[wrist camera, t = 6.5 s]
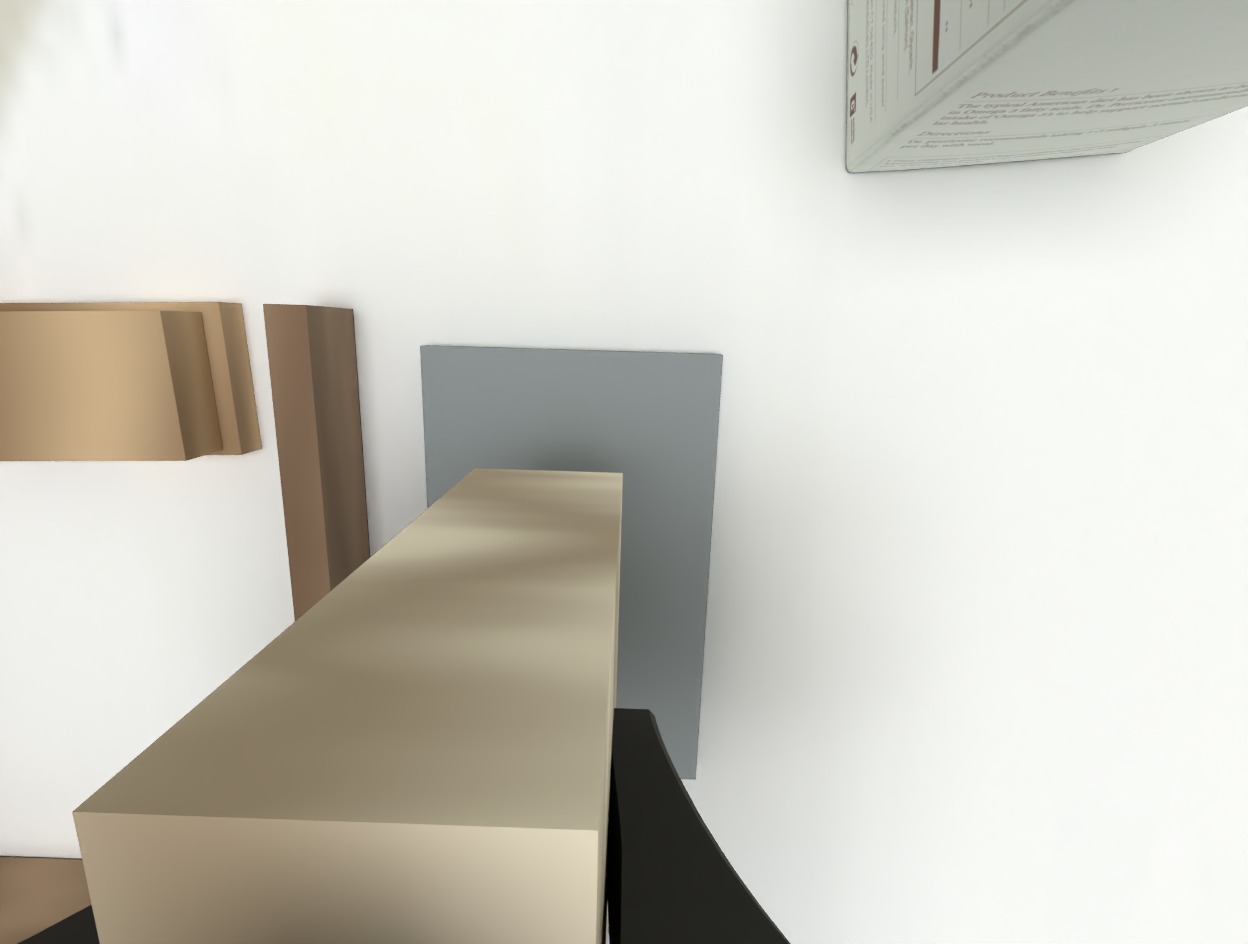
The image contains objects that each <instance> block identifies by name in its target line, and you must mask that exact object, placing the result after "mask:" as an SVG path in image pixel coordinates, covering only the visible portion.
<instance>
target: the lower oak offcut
mask: <svg viewBox="0 0 1248 944" xmlns="http://www.w3.org/2000/svg"><path fill="white" fill-rule="evenodd" d="M0 311H181V312H201V315H202V321H203V327H204V334H205V340H206V346H207V352H208V359H209V365H210V371H211V378H212V384H213V390H214V397H215V403H216V409H217V415H218V422H219V428H220V434H221V441H222V447H223V450H220V451H217V452H214V453H210V454H207V455H243V454H246V453H249V452H252V451H255V450H258V449H262V445H261V438H260V431H259V424H258V417H257V410H256V403H255V395H254V388H253V381H252V374H251V367H250V360H249V353H248V346H247V339H246V332H245V324H244V317H243V310H242V304H238V303H224V302H144V303H0Z"/></svg>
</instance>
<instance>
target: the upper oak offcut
mask: <svg viewBox="0 0 1248 944" xmlns="http://www.w3.org/2000/svg"><path fill="white" fill-rule="evenodd" d="M220 450H223V447H222V441H221V434H220V428H219V422H218V415H217V409H216V403H215V397H214V390H213V384H212V378H211V371H210V365H209V359H208V352H207V346H206V340H205V334H204V327H203V321H202V315H201V312H181V311H0V461H186V460H190V459H193V458H196V457H200V456H203V455H207V454H210V453H214V452H217V451H220Z"/></svg>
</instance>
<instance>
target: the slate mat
mask: <svg viewBox="0 0 1248 944" xmlns="http://www.w3.org/2000/svg"><path fill="white" fill-rule="evenodd" d="M420 353H421V375H422V397H423V419H424V441H425V463H426V485H427V507H428V508H429V507H430V506H431V505H432V504H433V503H435V502H436V501H437V500H438V499H439V498H441V497H442V496H443V495H444V494H445V493H446V492H448V491H449V490H450V489H451V488H452V487H453V486H455V485H456V484H457V483H458V482H459V481H460V480H462V479H463V478H464V477H465V476H466V475H467V474H469V473H470V472H471V471H472V470H473V469H474V468H483V469H514V470H546V471H577V472H609V473H623V485H622V518H621V552H620V586H619V619H618V653H617V687H616V708H626V709H649V710H650V711H651V712H652V713H653V714H654V715H655V718H656V722H657V725H658V729H659V732H660V734H661V737H662V740H663V742H664V745H665V747H666V749H667V752H668V754H669V756H670V758H671V761H672V763H673V765H674V767H675V769H676V771H677V773H678V775H679V777H680V779H696V765H697V749H698V734H699V718H700V702H701V687H702V671H703V656H704V640H705V625H706V609H707V594H708V578H709V563H710V547H711V532H712V516H713V500H714V485H715V469H716V454H717V438H718V423H719V407H720V392H721V376H722V361H723V355H721V354H698V353H664V352H631V351H598V350H564V349H531V348H497V347H464V346H430V345H426V346H420Z"/></svg>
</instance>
